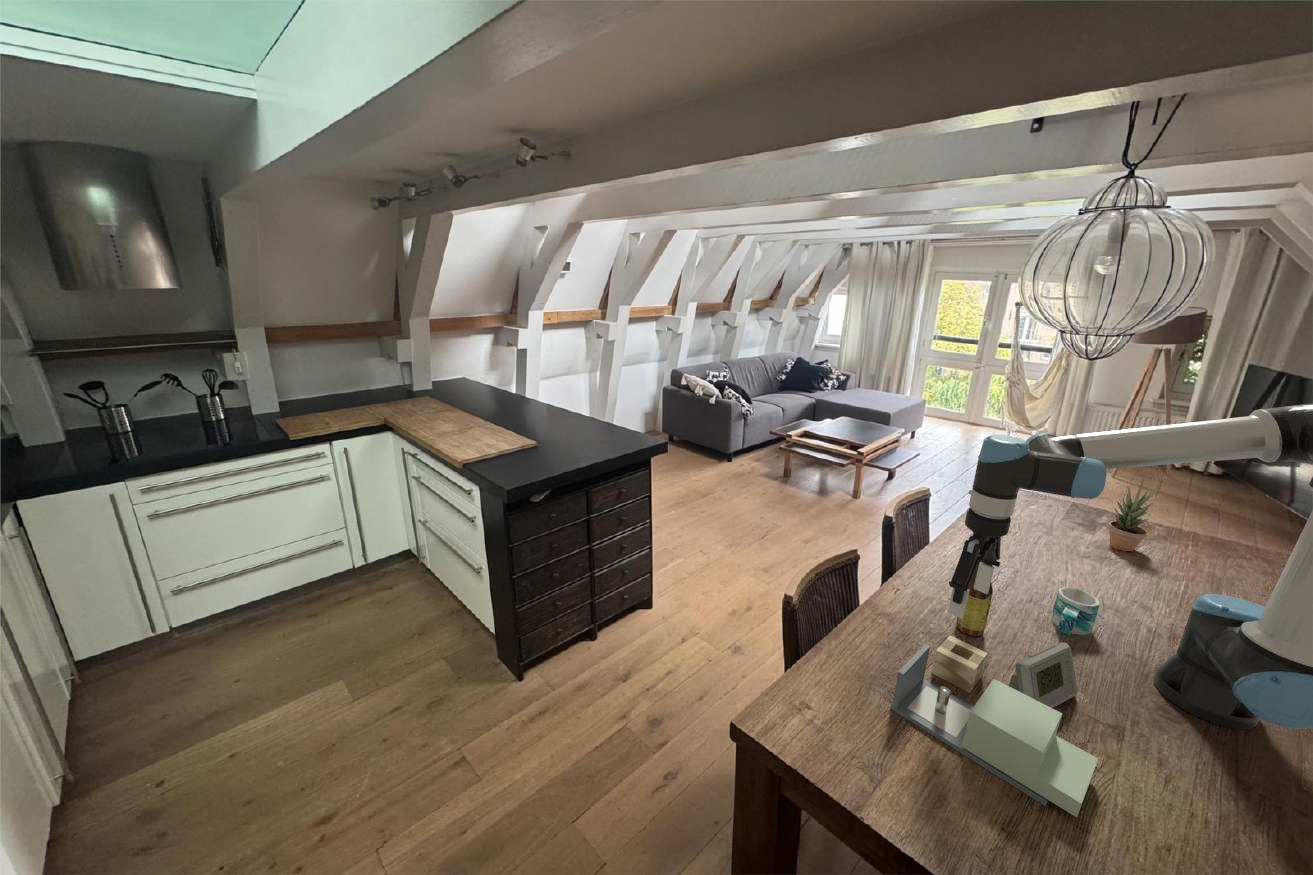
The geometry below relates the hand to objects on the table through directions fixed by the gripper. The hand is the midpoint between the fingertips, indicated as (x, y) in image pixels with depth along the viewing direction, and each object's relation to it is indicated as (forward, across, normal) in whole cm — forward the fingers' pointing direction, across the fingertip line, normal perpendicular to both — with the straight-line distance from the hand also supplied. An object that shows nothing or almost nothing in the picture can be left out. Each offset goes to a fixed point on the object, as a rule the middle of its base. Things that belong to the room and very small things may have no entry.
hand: (968, 602), depth 108 cm
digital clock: (+18, -5, +15) cm, 24 cm away
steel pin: (+17, +16, +4) cm, 24 cm away
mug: (+17, -38, +12) cm, 44 cm away
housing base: (+17, +16, +10) cm, 25 cm away
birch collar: (+17, +1, +1) cm, 17 cm away
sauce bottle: (+18, -18, -3) cm, 25 cm away
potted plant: (+17, -103, +12) cm, 105 cm away
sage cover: (+16, +15, +18) cm, 28 cm away
